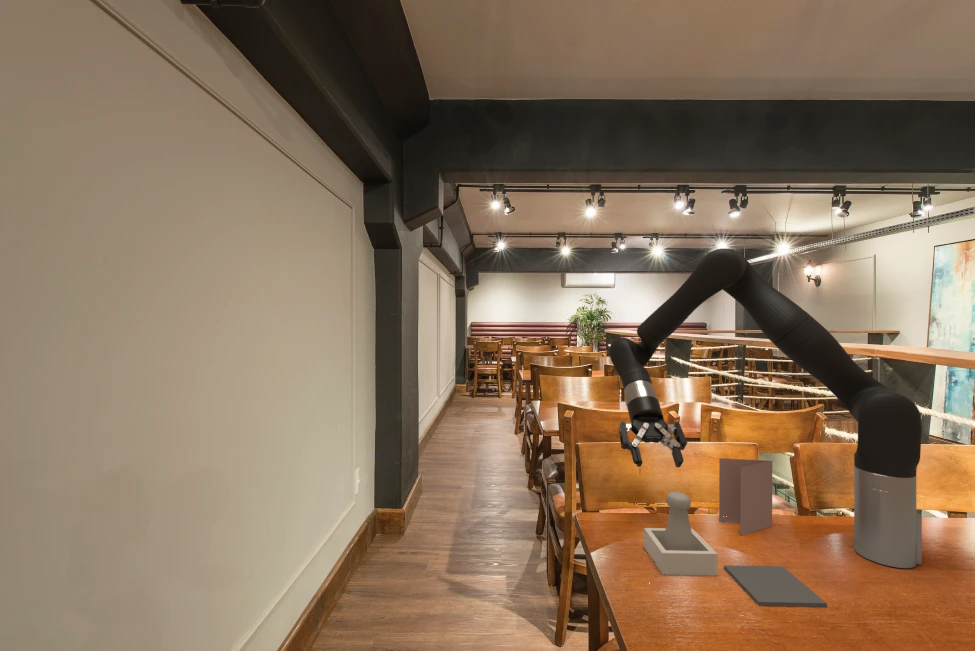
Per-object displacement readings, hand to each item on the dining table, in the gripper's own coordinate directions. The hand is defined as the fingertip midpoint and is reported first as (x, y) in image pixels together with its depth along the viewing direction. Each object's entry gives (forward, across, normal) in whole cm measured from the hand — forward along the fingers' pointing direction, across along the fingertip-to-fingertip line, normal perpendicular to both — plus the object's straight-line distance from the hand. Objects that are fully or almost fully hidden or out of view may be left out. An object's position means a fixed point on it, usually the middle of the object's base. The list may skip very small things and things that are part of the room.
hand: (659, 465), depth 95 cm
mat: (+24, +13, -2) cm, 27 cm away
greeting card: (+8, +22, +14) cm, 27 cm away
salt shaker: (+18, 0, +4) cm, 19 cm away
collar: (+18, 0, +4) cm, 18 cm away
